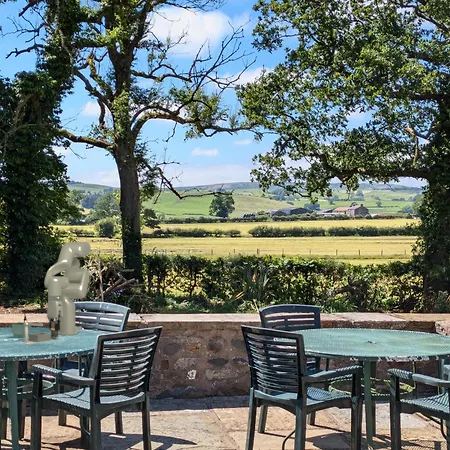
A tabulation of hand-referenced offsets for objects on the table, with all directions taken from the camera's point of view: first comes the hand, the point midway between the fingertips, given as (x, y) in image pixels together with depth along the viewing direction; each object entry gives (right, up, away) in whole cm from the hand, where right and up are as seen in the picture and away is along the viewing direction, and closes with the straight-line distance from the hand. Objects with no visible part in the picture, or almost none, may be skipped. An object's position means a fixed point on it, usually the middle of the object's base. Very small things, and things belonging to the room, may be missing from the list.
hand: (54, 329), depth 413 cm
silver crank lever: (-8, +4, -16) cm, 18 cm away
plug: (0, -4, 0) cm, 4 cm away
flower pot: (-21, -7, +6) cm, 23 cm away
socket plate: (-9, -6, -9) cm, 14 cm away
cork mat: (0, -6, 0) cm, 6 cm away
